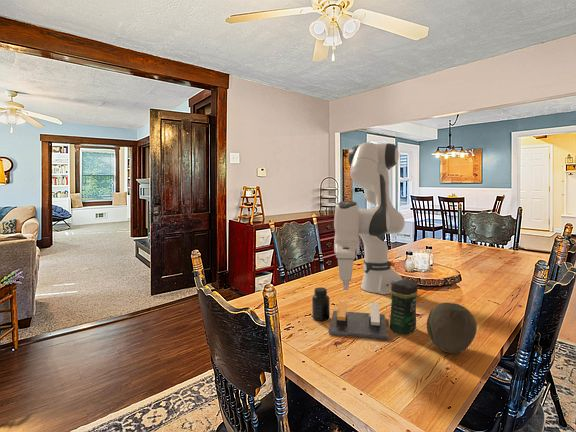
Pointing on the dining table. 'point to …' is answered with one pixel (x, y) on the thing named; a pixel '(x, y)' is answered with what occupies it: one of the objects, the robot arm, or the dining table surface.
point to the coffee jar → (403, 306)
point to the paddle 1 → (342, 311)
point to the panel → (358, 326)
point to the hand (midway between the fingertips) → (346, 284)
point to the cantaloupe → (451, 327)
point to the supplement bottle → (320, 305)
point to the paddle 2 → (375, 314)
